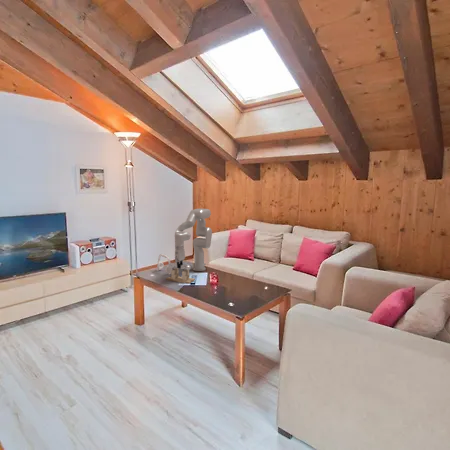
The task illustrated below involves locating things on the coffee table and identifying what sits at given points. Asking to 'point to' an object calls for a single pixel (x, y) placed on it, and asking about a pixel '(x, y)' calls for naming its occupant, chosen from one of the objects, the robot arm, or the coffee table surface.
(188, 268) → the spanner
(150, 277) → the coffee table surface
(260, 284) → the coffee table surface
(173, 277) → the rack
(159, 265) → the headset
